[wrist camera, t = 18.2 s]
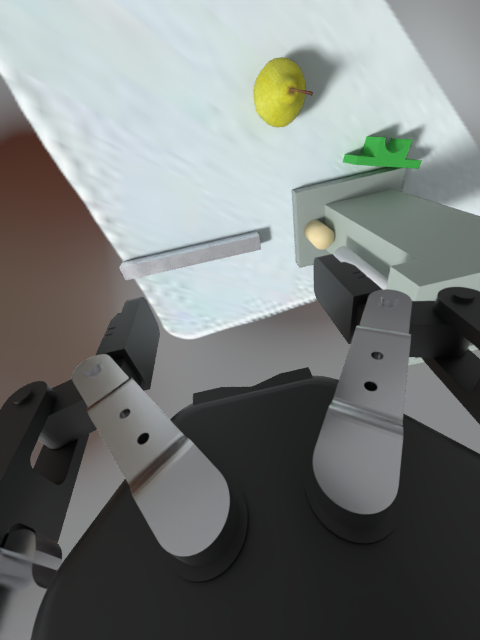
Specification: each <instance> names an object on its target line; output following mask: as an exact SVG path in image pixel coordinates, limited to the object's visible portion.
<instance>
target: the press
mask: <svg viewBox="0 0 480 640" xmlns="http://www.w3.org/2000/svg"><path fill="white" fill-rule="evenodd" d="M405 172H406V168H400V167H389V168H385V169H380V170H376V171H372V172H367V173H363V174H359V175H354V176H350V177H346V178H342V179H337V180H333V181H329V182H324V183H320V184H316V185H311V186H307V187H303V188H299V189H294V190H292V202H293V220H294V238H295V255H296V263H297V265H298V266H299V267H300V268H301V267H305V266H309V265H314V259H315V258H316V257H320V256H324V255H328V254H333V255H334V256H335V257H336V258H337V259H338V260H339V261H340V262H347V263H350V264H353V265H355V266H356V267H357V268H359V269H360V270H361V272H363V273H364V274H365V275H366V276H367V277H369V278H370V279H371V280H372V281H374V282H375V283H376V284H377V285H378V286H379V287H381V288H382V289H383V290H384V289H389V290H396V291H400V292H403V293H405V294H407V295H408V296H409V297H410V298H411V300H412V301H435V300H436V298H437V295H438V292H439V291H440V290H442V289H444V288H448V287H465V288H470V289H474V290H477V291H480V216H477V215H474V214H471V213H467V212H464V211H461V210H458V209H454V208H451V207H448V206H445V205H441V204H438V203H435V202H432V201H428V200H425V199H422V198H419V197H415V196H412V195H409V194H406V193H402V189H403V183H404V178H405ZM468 349H469V350H470V351H474V350H478V348H476V347H475V346H474V345H473V344H472V343H470V345H469V347H468ZM422 362H424V361H423V359H422V358H419V357H409V363H408V365H412V364H417V363H422Z"/></svg>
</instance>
